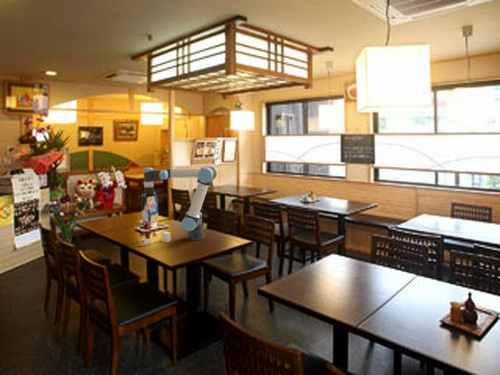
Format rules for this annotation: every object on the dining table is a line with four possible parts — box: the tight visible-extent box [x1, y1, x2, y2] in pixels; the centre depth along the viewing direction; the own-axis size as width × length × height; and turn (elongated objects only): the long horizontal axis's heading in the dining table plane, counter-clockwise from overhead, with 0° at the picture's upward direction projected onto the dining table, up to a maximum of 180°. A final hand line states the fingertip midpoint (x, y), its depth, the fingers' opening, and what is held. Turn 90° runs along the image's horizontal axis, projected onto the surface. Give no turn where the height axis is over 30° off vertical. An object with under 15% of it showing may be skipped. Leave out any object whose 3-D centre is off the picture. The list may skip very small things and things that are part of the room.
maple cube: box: [140, 238, 151, 248], centre depth 293 cm, size 5×5×5 cm
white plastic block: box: [161, 231, 172, 243], centre depth 307 cm, size 5×5×7 cm
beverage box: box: [141, 195, 159, 225], centre depth 303 cm, size 7×11×22 cm, turn 146°
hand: (150, 212), depth 303 cm, fingers closed on beverage box, 11 cm apart
